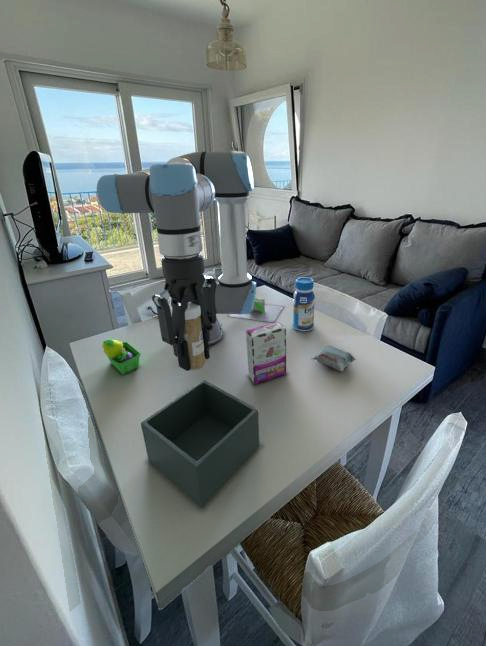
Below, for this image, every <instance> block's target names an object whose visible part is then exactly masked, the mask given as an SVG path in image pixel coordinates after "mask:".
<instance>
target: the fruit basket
mask: <svg viewBox="0 0 486 646" xmlns="http://www.w3.org/2000/svg"><path fill="white" fill-rule="evenodd" d="M102 349H103V353H104V354H105V356H107V359H108V361H109V362H110V363H111V365H113V366H114V368H116V369H117V371H118V372H120V374H122V375H125V374H126V373H129V372H131V371H133V370H135V369H137V368H139V364H140V357H141V352H139V351H138V349H136V348H134V346H132V345H131V344H130V343H129V342H127V341H123V342H122V341H120V340H116V339H112V338H107V339H106V340H103V341H102Z"/></svg>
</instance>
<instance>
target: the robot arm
mask: <svg viewBox="0 0 486 646" xmlns="http://www.w3.org/2000/svg"><path fill="white" fill-rule="evenodd" d="M254 187H255V185H254V174H253V169H252V163H251V160H250V156H249V155H248V153H246V152H244V151H241V150H239V151H238V150H222V151H221V150H219V151H218V150H217V151H216V150H215V151H194V152H190V153H187V154H182V155H180V156H175V157H172V158H170V159H169V160H168V161H167V162H166V163H153V164H151V165H150V167H148V168H147V169H146V168H145V169H142V170H139V171H135V172H131V173H126V174H125V173H123V174H117V173H114V174H105V175H102V176H101V177H99V179H98V180H97V183H96V196H97V199H98V202H99V204H100V206H101V207H102V209H103V210H104V211H106V212H108V213H111V214H122V215H125V214H154V219H155V225H156V234H157V243H158V250H159V254H160V255H162V256H161V258H160V262H161V268H162V269H161V270H162V275H163V278H164V280H165V283H164V286H163V291H162V292H160V293H159V294H153V295H152V296H151V300H152V302H153V304H154V305H155V307H156V308H155V309H156V312H155V311H154V309H153V308H152V306H151V305H150V306H148V307H147V309H148V310H149V309H150V311H151V312H152V313H153V314H154V315H156V316H157V320H158V325H159V329H160V336H161V342H164V343H166V344H168V345H170V346H172V349H173V355H174V356H175V357H176V358H177V363H178V367H179V368H180V369H183V370H184V371H186V372H188V371H192V370H191V369H190V361H189V353H188V345H187V341H185V340H183V338H184V325H185V311H186V309H187V308H188V303H189V302H191V303H194V304H196V305H199V306H200V309H201V316H200V319H201V327H202V334H203V343H204V356H205V360H209V359H210V347H209V346H212V345H215V344H216V343H218V342H219V341H221V339H222V338H223V337H224V336H223V335H224V333H223V328H222V327H223V323H221V324H220V321H219V319H218V317H217V315H231V314H239V315H240V314H249V313H251V312H252V310H253V307H254V302H255V298H256V295H257V282H256V281H253V278H252V274H250V273H249V272H248V256H247V233H246V232H247V230H246V206H245V205H246V201H247V200H248V199H249V198H250V192H253V191H254ZM214 201H216V202H217V209H218V210H217V213H218V225H219V226H218V228H219V241H220V242H219V243H220V244H219V245H220V255H221V256H220V257H221V258H220V259H221V274H220V275H219V276H218V280H217V279H216V278H214V277H213V276H211V275H204V273H205V270H206V269H205V259H204V258H205V257H204V254H203V253H202V251H203V249H204V248H203V240H202V239H203V238H202V227H201V216H200V213H202V212H204V211H206V210H208V209H209V208H210V206H211V205H212V204H213V202H214ZM169 297H170V298H169ZM170 306H171V307H170ZM171 308H172V310H171Z"/></svg>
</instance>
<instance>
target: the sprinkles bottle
mask: <svg viewBox="0 0 486 646" xmlns="http://www.w3.org/2000/svg"><path fill="white" fill-rule="evenodd" d="M200 316H201V309H200V306H199V305H196V304H194V303H191V302H189V303H188V308H187V309H186V311H185V325H184V338H183V340H185V341H187V345H188V353H189V361H190V369H191V370H190V371H196V370H200V369H202V368H203V367H204V366H205V365H206V364H207V362H206V361H207V359H205V356H204V343H203V334H202V327H201V319H200Z"/></svg>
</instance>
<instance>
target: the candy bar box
mask: <svg viewBox="0 0 486 646" xmlns="http://www.w3.org/2000/svg"><path fill="white" fill-rule="evenodd" d="M245 336H246V337H245V339H246V352H247V354H246V355H247V369H248V371H247V372H248V377H249V379H250V380H251V381H252V383H253V384H254V385H259V384H261V383H264V382H267V381H269V380H272V379H275V378H278V377H281V376H284V375H287V328H286V327H285V326H284V325H283V324H282V323H281V322H279V321H276V322H271V323H269V324H265V325H261V326H257V327H254V328H250V329H247V330H245Z"/></svg>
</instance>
